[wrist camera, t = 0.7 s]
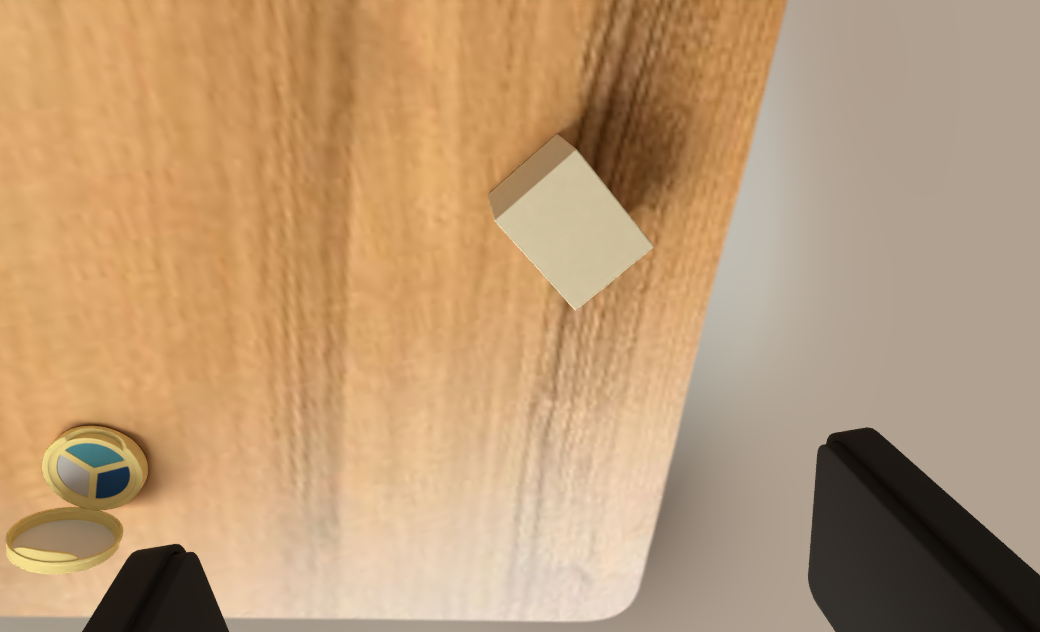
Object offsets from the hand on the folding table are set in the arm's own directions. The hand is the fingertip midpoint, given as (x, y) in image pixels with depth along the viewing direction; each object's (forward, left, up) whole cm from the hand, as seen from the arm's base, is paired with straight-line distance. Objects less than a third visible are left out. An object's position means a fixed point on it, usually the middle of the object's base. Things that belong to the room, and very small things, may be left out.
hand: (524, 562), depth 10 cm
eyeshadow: (+22, -3, -21) cm, 30 cm away
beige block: (-3, +2, -21) cm, 21 cm away
